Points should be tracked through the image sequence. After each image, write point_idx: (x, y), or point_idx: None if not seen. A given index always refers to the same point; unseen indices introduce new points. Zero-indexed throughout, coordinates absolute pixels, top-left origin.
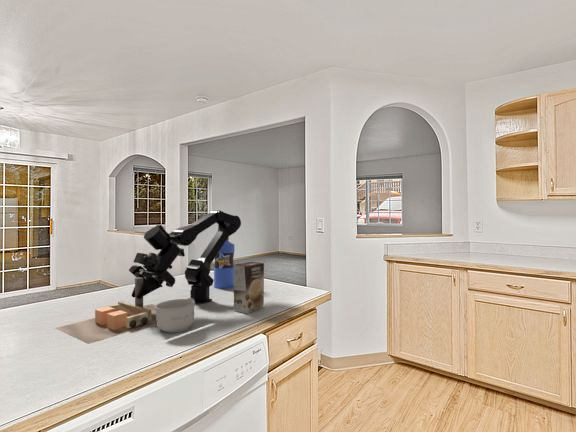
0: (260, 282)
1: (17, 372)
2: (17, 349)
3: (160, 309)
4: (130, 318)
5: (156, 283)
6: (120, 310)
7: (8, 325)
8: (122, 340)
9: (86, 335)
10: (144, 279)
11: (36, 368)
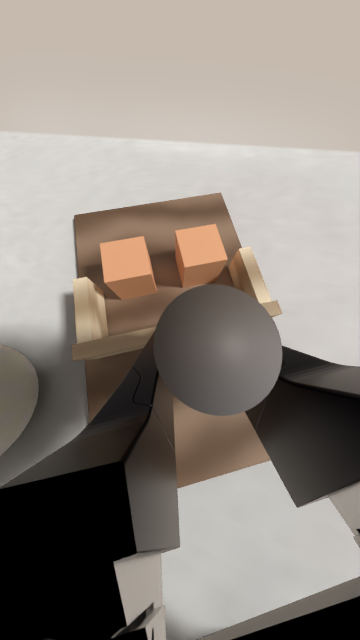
0: None
1: (55, 143)
2: (152, 150)
3: None
4: (75, 286)
5: (84, 536)
6: (147, 273)
7: (302, 152)
8: (52, 270)
9: (126, 222)
10: (318, 460)
11: (48, 158)
